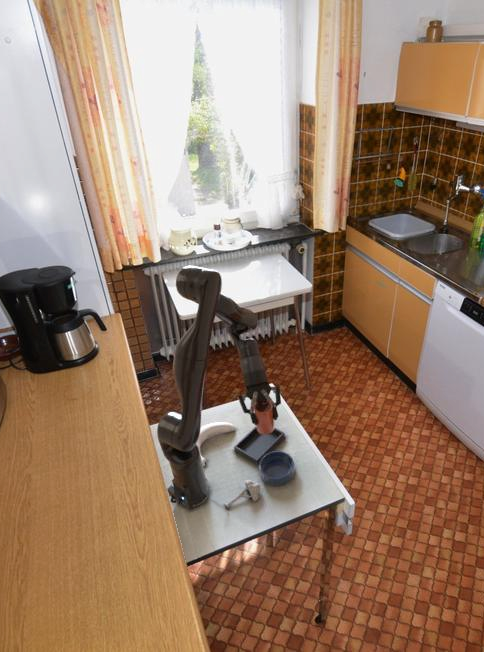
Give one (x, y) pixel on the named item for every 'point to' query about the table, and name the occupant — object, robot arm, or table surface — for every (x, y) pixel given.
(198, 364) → the robot arm
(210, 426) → the banana
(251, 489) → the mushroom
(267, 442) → the tray
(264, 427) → the cup
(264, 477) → the bowl
